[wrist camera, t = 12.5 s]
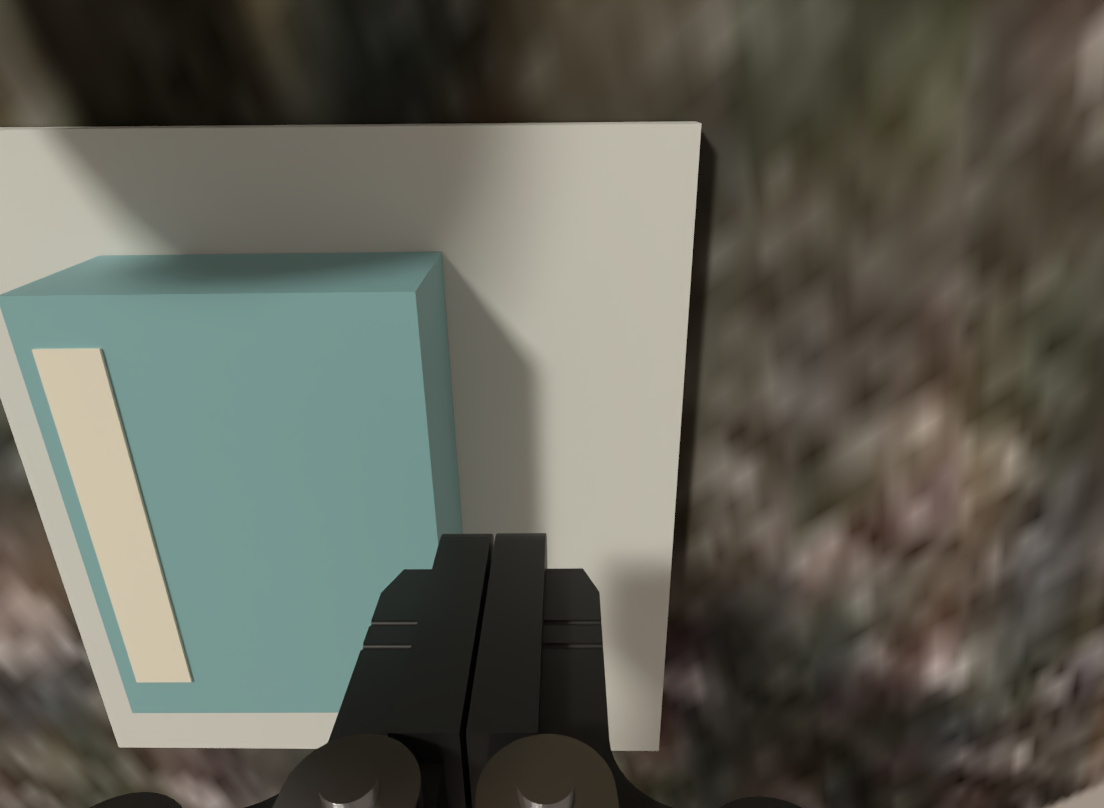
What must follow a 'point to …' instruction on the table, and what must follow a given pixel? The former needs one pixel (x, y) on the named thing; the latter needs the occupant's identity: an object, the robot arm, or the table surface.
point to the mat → (472, 320)
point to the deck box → (244, 458)
